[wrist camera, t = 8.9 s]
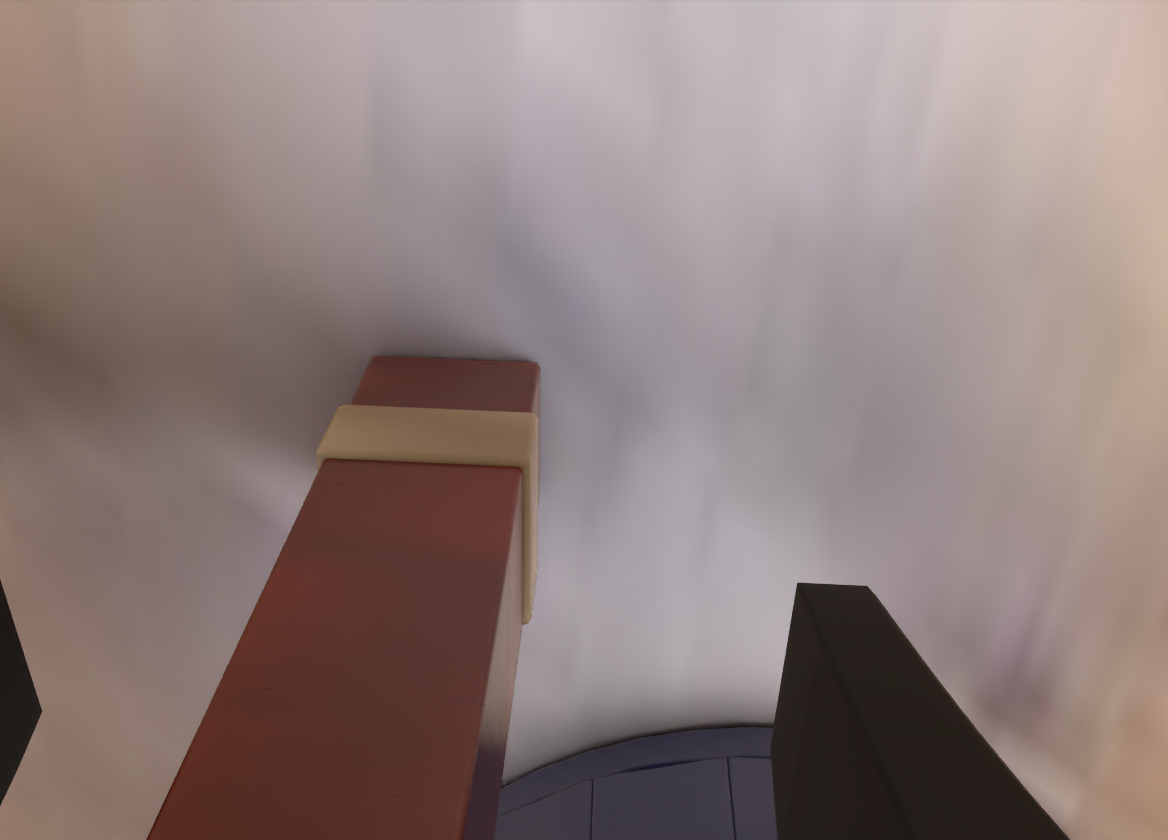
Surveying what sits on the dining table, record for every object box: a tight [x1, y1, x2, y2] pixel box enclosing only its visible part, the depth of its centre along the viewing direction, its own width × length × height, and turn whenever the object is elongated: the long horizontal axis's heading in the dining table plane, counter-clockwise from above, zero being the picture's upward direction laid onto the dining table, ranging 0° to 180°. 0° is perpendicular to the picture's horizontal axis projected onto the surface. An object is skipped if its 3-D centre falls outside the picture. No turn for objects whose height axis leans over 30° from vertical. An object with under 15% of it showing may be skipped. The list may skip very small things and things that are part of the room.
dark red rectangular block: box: [146, 356, 540, 840], centre depth 10 cm, size 2×2×8 cm
